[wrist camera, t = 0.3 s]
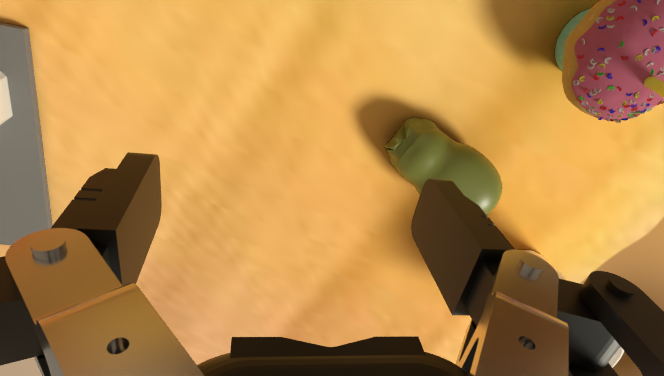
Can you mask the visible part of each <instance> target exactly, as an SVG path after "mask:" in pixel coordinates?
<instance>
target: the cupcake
mask: <svg viewBox="0 0 664 376" xmlns="http://www.w3.org/2000/svg"><path fill="white" fill-rule="evenodd" d="M555 59H556V62H557V65H558V67H559V68H560V70H561V71H562V72H563V74H562V82H563V88H564V92H565V95H566V97H567V98H568V100H569V101H570V102H571V103H572V104H573V105H575V106H576V107H577V108H578V109H579V110H581V111H582V112H584V113H586V114H589V115H591V116H593V117H596V118H599V119H598V120H601V119H603V120H607V121H615V122H617V121H618V120H619V119H620V120H619V122H617V123H620V122H621V120H628V118H630V117H631V118H634V117H637V116H638V115H640V114H642V113H644V112H645V111H650V110H651V109H652V108H653V107H655V106H657V105H659V104H663V103H664V0H599V1H598V2H597V3H596V4H595V5H594V6H593V7H592V8H590V9H587V10H585V11H583V12H581V13H579V14H578V15H576V16H575V17H574V18H572V19H571V20H570V21H569V22H568V23H567V24H566V26H565V27H564V28H563V30H562V31H561V33H560V35H559V37H558V40H557V43H556V47H555ZM626 118H627V119H626Z"/></svg>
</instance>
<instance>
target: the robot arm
mask: <svg viewBox="0 0 664 376" xmlns="http://www.w3.org/2000/svg"><path fill="white" fill-rule="evenodd" d="M160 216H161V182H160V162H159V157H158V155H153V154H141V153H127V154H126V156H125V157H124V159H123V160H122V162H121V163H120V165H119V166H118V168H117V169H109V168H105V169H103V170H102V171H100V172H98V173H96V174H94V175H93V176H91V177H89V179H88V180H87V181H86V183H85V184H84V185H83V187H82V188H81V190H80V191H79V192H78V193H77V194H76V196H75V197H74V200H72V201H71V202H70V204H69V205H68V206H67V208H66V209H65V210H64V212H63V213H62V214H61V215H60V217H59V218H58V219H57V221H56V222H55V223H54V225H53V226H52V227H51V229H45V230H41V231H37V232H34V233H31V234H29V235H26V236H24V237H22V238H21V239H19V240H18V241H16V242H15V243H14V244H12V245H11V246H10V248H9V249H8V250H7V252H6V255H5V256H4V257H0V365H4V364H8V363H12V362H16V361H20V360H24V359H28V358H32V357H34V358H35V360H36V362H37V365H38V367H39V369H40V372H41V374H42V376H618V374H617V373H616V372H615V371H614V370H613V368H612V367H611V365H610V364H609V363H608V362H609V361H610V359H611V358H612V357H613V356H614V354H615V353H616V352H617V350H618V349H619V348H620V347H621V348H622V349H623V350H624V351H625V352H626V353H627V355H628V356H629V357H630V358H631V360H632V361H633V362H634V363H635V364H636V365H637V367H638V368H639V369H640V371H641V373H642V375H643V376H664V312H663V311H662V310H661V309H660V308H659V307H658V306H657V305H656V304H655V303H654V302H653V301H652V300H651V299H650V298H649V297H648V296H647V295H646V294H645V293H644V292H643V291H642V290H641V289H639V288H638V287H637V286H635V285H634V284H633V283H631V282H629V281H628V280H626V279H624V278H622V277H620V276H617V275H615V274H612V273H609V272H604V271H594V272H592V273H591V274H590V275H589V276H588V278H587V280H586V281H585V283H584V284H579V283H575V282H571V281H567V280H563V279H559V276H558V274H557V272H556V270H555V269H554V268H553V267H552V266H551V265H550V264H549V263H548V262H546V261H545V260H543V259H542V258H540V257H538V256H537V255H534V254H532V253H529V252H526V251H523V250H515V249H514V247H513V246H512V245H511V244H510V243H509V241H508V240H507V239H506V238H505V237H504V235H503V234H502V233H501V232H500V231H499V229H498V228H497V227H496V226H494V223H493V222H492V221H491V220H490V218H487V215H486V214H485V212H484V211H483V210H482V209H481V208H480V206H479V205H477V204H476V203H474V202H473V201H472V200H470V199H469V198H467V197H466V196H464V194H463V193H462V192H461V191H460V189H459V188H458V187H457V186H456V184H455V183H454V182H453V181H451V180H441V179H427V180H426V181H425V183H424V185H423V188H422V191H421V194H420V197H419V201H418V204H417V207H416V210H415V213H414V216H413V219H412V227H411V228H412V236H413V239H414V241H415V243H416V245H417V247H418V248H419V250H420V252H421V254H422V256H423V258H424V260H425V262H426V264H427V266H428V268H429V270H430V272H431V274H432V276H433V278H434V280H435V282H436V284H437V286H438V288H439V290H440V292H441V294H442V296H443V298H444V300H445V302H446V304H447V306H448V307H449V309H450V311H451V313H452V315H470V316H471V318H472V320H471V322H470V324H469V326H468V328H467V331H466V334H465V337H464V340H463V343H462V346H461V349H460V352H459V355H458V358H457V361H456V364H454V363H452V362H450V361H448V360H446V359H444V358H441V357H439V356H436V355H433V354H430V353H427V352H424V350H423V348H422V345H421V343H420V340H419V338H418V337H373V338H369V339H365V340H361V341H357V342H353V343H349V344H345V345H341V346H337V347H325V346H320V345H316V344H311V343H306V342H302V341H297V340H292V339H288V338H283V337H232V341H231V353H228V354H224V355H220V356H217V357H215V358H212V359H209V360H207V361H205V362H203V363H201V364H198V365H196V364H195V362H194V361H193V360H192V358H191V357H190V356H189V354H188V353H187V352H186V350H185V349H184V347H183V346H182V345H181V343H180V342H179V341H178V339H177V338H176V337H175V335H174V334H173V333H172V331H171V330H170V329H169V327H168V326H167V325H166V323H165V322H164V321H163V319H162V318H161V317H160V315H159V314H158V313H157V311H156V310H155V309H154V307H153V306H152V305H151V303H150V302H149V301H148V299H147V298H146V297H145V295H144V294H143V293H142V291H141V290H140V289H139V287H138V286H137V285H136V282H137V279H138V277H139V274H140V271H141V269H142V266H143V264H144V261H145V258H146V256H147V253H148V251H149V248H150V245H151V243H152V240H153V238H154V235H155V232H156V230H157V227H158V225H159V221H160Z"/></svg>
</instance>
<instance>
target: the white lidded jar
mask: <svg viewBox="0 0 664 376" xmlns="http://www.w3.org/2000/svg"><path fill="white" fill-rule="evenodd" d="M12 116H13V114H12V108H11V101H10V95H9V88H8V81H7V76H5V75H4V74H3V73H2V72H1V71H0V125H1V124H3V123H4V122H5V121H7V120H8V119H9V118H10V117H12Z"/></svg>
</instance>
